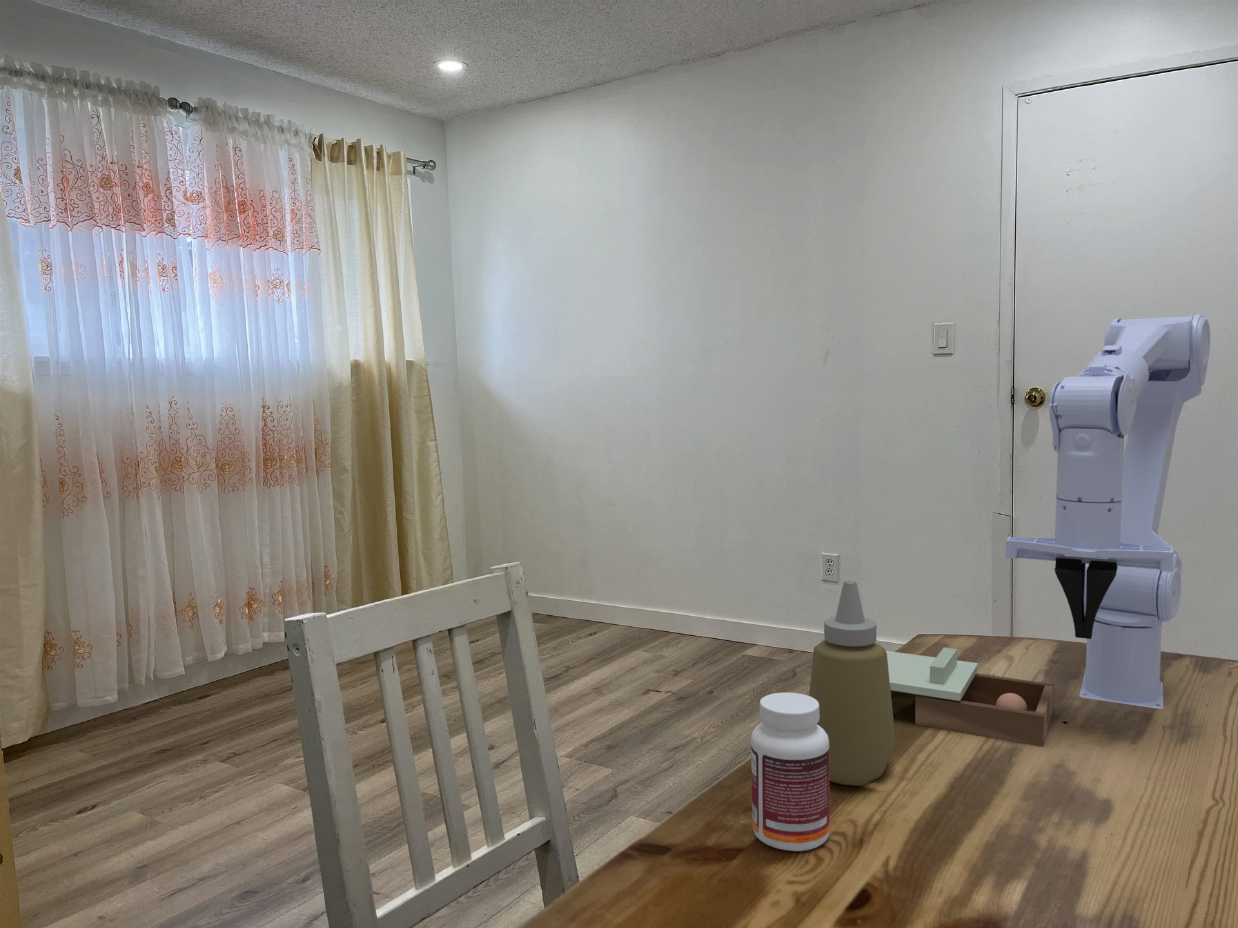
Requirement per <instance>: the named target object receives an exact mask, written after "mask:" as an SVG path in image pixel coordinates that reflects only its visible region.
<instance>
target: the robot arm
mask: <svg viewBox="0 0 1238 928" xmlns="http://www.w3.org/2000/svg"><path fill="white" fill-rule="evenodd" d="M1210 348H1211V327H1210V322H1209V320H1208V319H1207V318H1206V317H1205V316H1204V315H1203V314H1202V313H1197V314H1194V315H1187V316H1170V317H1169V316H1166V317H1164V316H1163V317H1147V318H1132V319H1131V318H1128V319H1122V318H1121V317H1117V318H1114V319H1113V320H1111V322H1110V323H1109V324H1108V326H1107V328H1106V330H1105V334H1104V342H1103V348H1101V351H1098V352H1097V353H1096V354H1095V355H1094V356H1092V358H1091V359H1090V360H1089V362H1088V363H1087V364H1086V365H1085V366H1084V367H1083V369H1082V370H1081V371H1080V372H1079V373H1078V374H1077V375H1076V376H1065V377H1063V380H1061V381H1057V382H1056V383H1055V384H1054V385H1053V388H1052V390H1051V394H1050V400H1049V408H1048V409H1049V410H1048V411H1049V421H1050V425H1051V431H1052V447H1053V451H1054V452H1056V453H1057V461H1056V463H1057V464H1056V467H1057V468H1056V490H1055V491H1056V496H1055V499H1056V500H1055V527H1054V528H1055V529H1054V537H1047V538H1046V537H1017V536H1016V537H1015V536H1008V538H1006V539H1005V559H1009V560H1010V559H1011V560H1012V559H1013V560H1017V559H1027V560H1039V561H1052V562H1055V565H1054V566H1055V567H1054V572H1055V575H1056V578H1057V580H1058V582H1059V583H1060V587H1061V589H1062V590H1063V593H1064V595H1065V598H1066V600H1067V601H1066V602H1067V603H1068V607H1069V609H1070V613H1071V616H1072V622H1073V627H1074V634H1075V635H1074V636H1075V638H1077V639H1078V638H1079V639H1086V652H1085V653H1086V655H1085V672H1084V674H1083V678H1082V683H1081V686H1080V691H1079V694H1078V695H1079V697H1080V698H1084V699H1089V700H1097V701H1102V702H1109V703H1117V704H1125V705H1130V706H1131V705H1132V706H1139V707H1144V708H1151V709H1157V710H1159V709H1160V710H1163V709H1164V683H1163V682H1162V681H1160V678H1161V676H1160V675H1161V658H1162V657H1161V652H1162V649H1161V648H1162V627H1163V626H1162V624H1163V623H1164V622H1167V623H1168V622H1170V621H1171V620H1172V619H1173V618H1175V617H1176V615H1177V613H1178V610H1179V605H1180V599H1181V593H1182V591H1181V590H1182V579H1181V576H1182V567H1183V565H1182V560H1181V558H1180V556H1179V553H1178V551H1177V550H1176V548H1175V547H1173V546H1172V545H1171V544H1170V543H1168V542H1167V541H1166V540H1165V539H1163V538H1162V537H1160V535H1158V533H1159V528H1160V521H1161V515H1162V511H1163V505H1164V498H1165V493H1166V488H1167V481H1168V477H1169V469H1170V465H1171V459H1172V458H1171V457H1172V452H1173V448H1174V447H1173V446H1174V442H1175V435H1176V432H1177V431H1176V430H1177V425H1178V422H1179V421H1178V420H1179V418H1180V416H1181V412H1182V410H1183V406H1184V404H1185V403H1186V402H1188V401H1191V400H1192V399H1194V398H1195V397H1198V396H1199V395H1201V393H1202V389H1203V386H1204V384H1205V382H1206V376H1207V371H1208V366H1209V358H1210V351H1211V349H1210ZM1125 436H1126V437H1127V438H1126V442H1125ZM1125 443H1126V444H1125Z"/></svg>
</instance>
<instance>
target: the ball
mask: <svg viewBox="0 0 1238 928" xmlns="http://www.w3.org/2000/svg"><path fill="white" fill-rule="evenodd" d="M996 706H1000V707H1006V708H1012V709H1019V710H1025V711H1027V705H1026V703H1025V701H1024V700H1023V698H1021V697H1020V696H1019V695H1017V694H1014V693H1006V694H1003V695H1002V696H1000V697H999V698H998V700H997V702H996Z"/></svg>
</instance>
